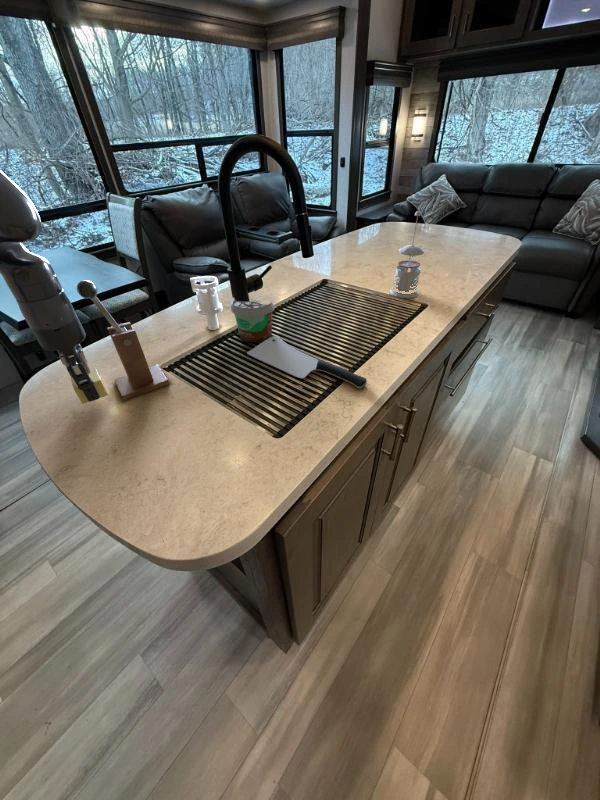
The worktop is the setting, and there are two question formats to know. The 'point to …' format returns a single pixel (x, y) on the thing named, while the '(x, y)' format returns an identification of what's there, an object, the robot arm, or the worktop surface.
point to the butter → (97, 384)
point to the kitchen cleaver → (299, 361)
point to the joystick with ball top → (97, 302)
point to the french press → (404, 276)
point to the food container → (253, 320)
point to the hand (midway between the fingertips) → (92, 392)
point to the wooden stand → (135, 365)
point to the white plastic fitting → (207, 299)
